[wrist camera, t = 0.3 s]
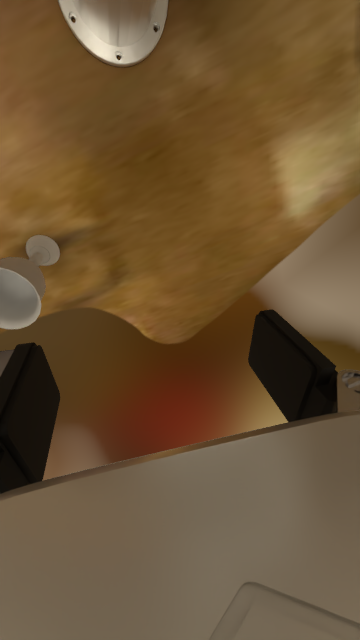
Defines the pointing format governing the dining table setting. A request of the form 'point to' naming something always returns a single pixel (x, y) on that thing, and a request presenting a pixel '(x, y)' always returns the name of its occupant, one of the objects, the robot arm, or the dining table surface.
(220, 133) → the dining table surface
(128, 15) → the robot arm
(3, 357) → the c-shaped stand
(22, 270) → the chalice
